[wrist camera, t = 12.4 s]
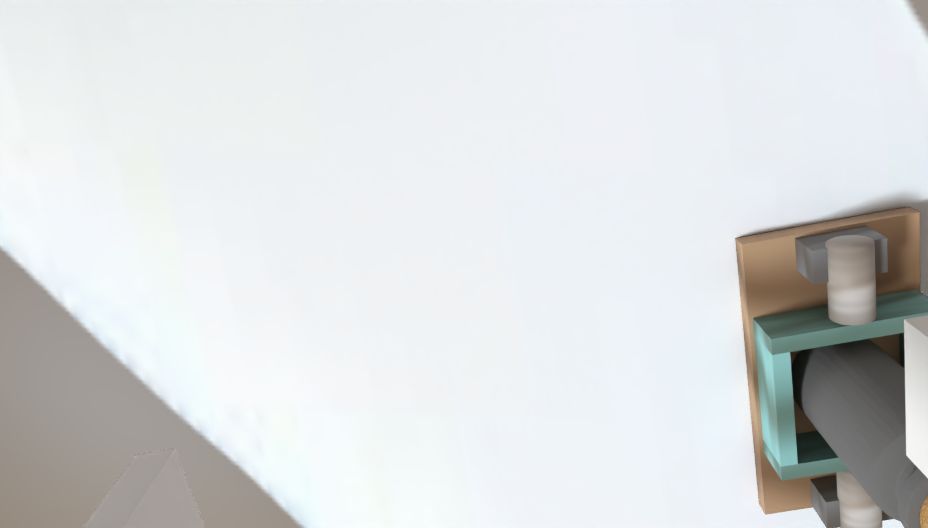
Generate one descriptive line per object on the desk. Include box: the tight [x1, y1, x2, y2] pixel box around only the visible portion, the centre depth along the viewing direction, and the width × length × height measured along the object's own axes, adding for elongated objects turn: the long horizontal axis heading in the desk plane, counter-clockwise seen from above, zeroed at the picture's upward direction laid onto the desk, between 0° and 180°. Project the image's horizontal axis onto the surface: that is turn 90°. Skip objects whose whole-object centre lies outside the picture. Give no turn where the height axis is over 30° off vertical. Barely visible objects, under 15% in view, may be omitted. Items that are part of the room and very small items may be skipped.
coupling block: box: [735, 207, 928, 528], centre depth 46 cm, size 19×10×5 cm, turn 11°
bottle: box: [791, 339, 928, 528], centre depth 40 cm, size 6×6×15 cm
